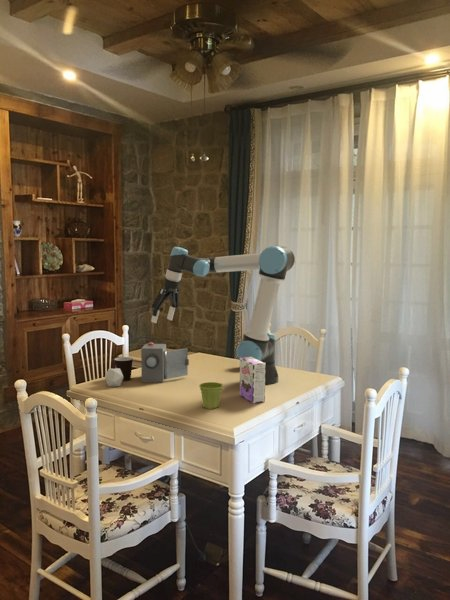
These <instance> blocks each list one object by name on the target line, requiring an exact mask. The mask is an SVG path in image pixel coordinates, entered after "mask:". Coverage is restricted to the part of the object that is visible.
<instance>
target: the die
mask: <svg viewBox="0 0 450 600" xmlns="http://www.w3.org/2000/svg"><path fill="white" fill-rule="evenodd" d="M104 378H105V382H106V384H107V387H109V388H115V387H121V385H122V383H123V381H122V380H123V378H124V377H123V374H122V372H121V370H120V368H108V369H107V371H106V374H105V375H104Z"/></svg>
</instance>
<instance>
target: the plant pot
mask: <svg viewBox="0 0 450 600" xmlns="http://www.w3.org/2000/svg"><path fill="white" fill-rule="evenodd" d="M198 386H199V389H200V393H201V400H202V405H203V408H205V409H208V410H211V409H216V408H219V405H220V400H221V393H222V389H223V387H224V384H223V383H221V382H217V381H216V382H213V381H212V382H211V381H210V382H203V383H200V384H199V385H198Z"/></svg>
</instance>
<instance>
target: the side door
mask: <svg viewBox="0 0 450 600" xmlns="http://www.w3.org/2000/svg"><path fill="white" fill-rule="evenodd" d="M188 349H189V348H187V347H186V348H179V349H172V350H166V351H164V352H163V359H164V380H168V379H173V378H180V377H184V376H188V373H189V371H188V368H189V367H188V366H189V364H190V363H189V361H190V359H189V358H188Z"/></svg>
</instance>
